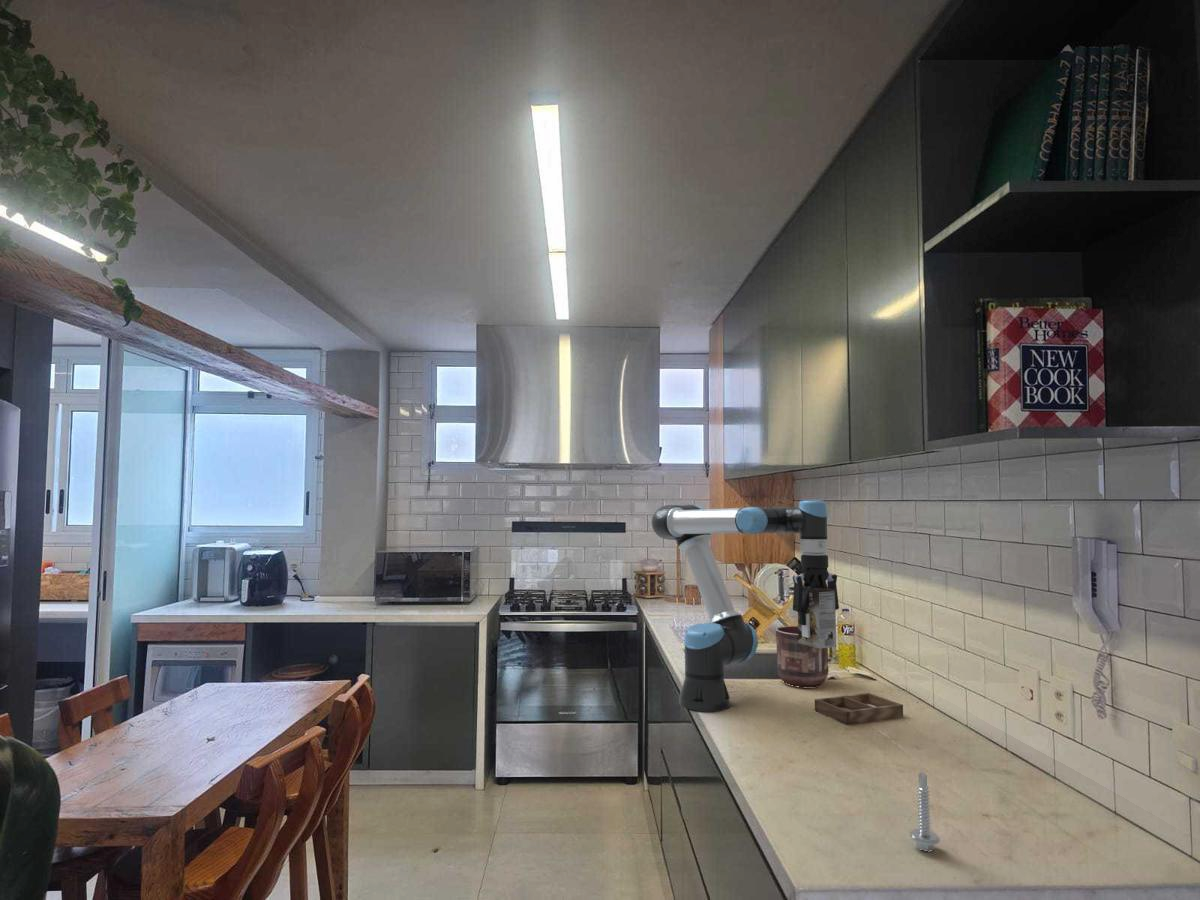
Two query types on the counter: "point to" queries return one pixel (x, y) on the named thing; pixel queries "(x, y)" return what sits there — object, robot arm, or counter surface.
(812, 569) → the robot arm
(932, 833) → the screw
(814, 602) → the coffee box
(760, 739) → the counter surface
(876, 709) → the walnut crate
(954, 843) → the counter surface
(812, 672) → the pottery
